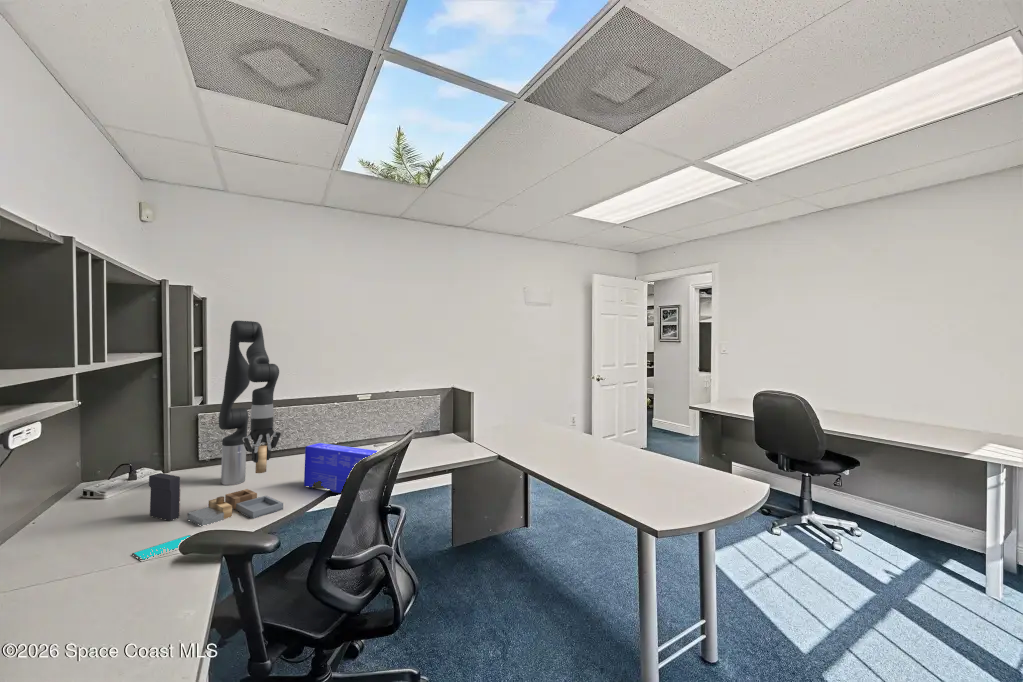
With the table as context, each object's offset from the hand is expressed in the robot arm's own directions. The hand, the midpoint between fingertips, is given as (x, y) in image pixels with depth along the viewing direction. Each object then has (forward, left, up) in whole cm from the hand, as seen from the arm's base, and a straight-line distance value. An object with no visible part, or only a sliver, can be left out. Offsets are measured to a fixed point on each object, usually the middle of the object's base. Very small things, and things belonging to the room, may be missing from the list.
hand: (261, 460), depth 163 cm
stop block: (-8, -10, -19) cm, 23 cm away
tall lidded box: (-20, -23, -19) cm, 36 cm away
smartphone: (+8, -31, -19) cm, 38 cm away
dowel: (0, 0, -4) cm, 4 cm away
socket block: (-12, -1, -19) cm, 22 cm away
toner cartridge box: (+7, +32, -19) cm, 38 cm away
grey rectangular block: (-6, -16, -19) cm, 25 cm away
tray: (0, 0, -19) cm, 19 cm away
